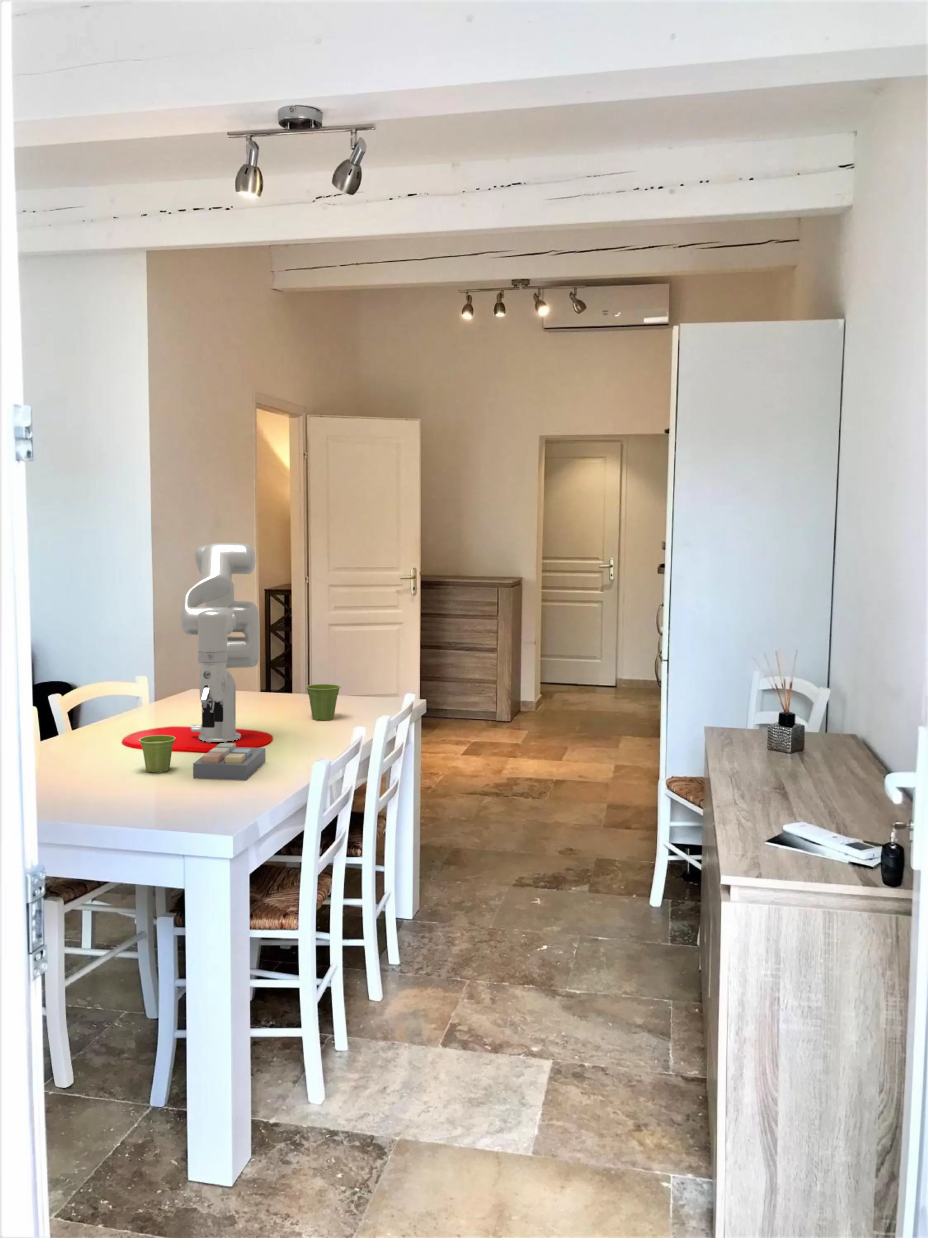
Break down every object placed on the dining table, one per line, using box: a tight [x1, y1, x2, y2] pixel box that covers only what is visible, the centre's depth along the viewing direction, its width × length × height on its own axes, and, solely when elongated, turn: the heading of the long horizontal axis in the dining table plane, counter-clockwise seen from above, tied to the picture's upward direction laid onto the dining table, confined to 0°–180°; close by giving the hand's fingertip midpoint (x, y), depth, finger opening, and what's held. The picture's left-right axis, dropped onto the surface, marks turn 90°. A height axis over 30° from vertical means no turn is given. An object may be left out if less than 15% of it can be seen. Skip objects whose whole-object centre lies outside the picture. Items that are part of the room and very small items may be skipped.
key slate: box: [232, 748, 251, 758], centre depth 275 cm, size 4×4×3 cm
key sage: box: [215, 742, 237, 752], centre depth 281 cm, size 4×4×3 cm
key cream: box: [209, 747, 229, 758], centre depth 275 cm, size 4×4×3 cm
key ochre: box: [225, 753, 245, 764], centre depth 269 cm, size 4×4×3 cm
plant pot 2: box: [305, 683, 342, 722], centre depth 347 cm, size 12×12×11 cm
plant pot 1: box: [138, 734, 176, 774], centre depth 273 cm, size 9×9×9 cm
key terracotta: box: [203, 752, 223, 763], centre depth 269 cm, size 4×4×3 cm
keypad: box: [192, 746, 266, 781], centre depth 275 cm, size 14×20×4 cm
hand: (212, 724), depth 268 cm, fingers open, 6 cm apart
